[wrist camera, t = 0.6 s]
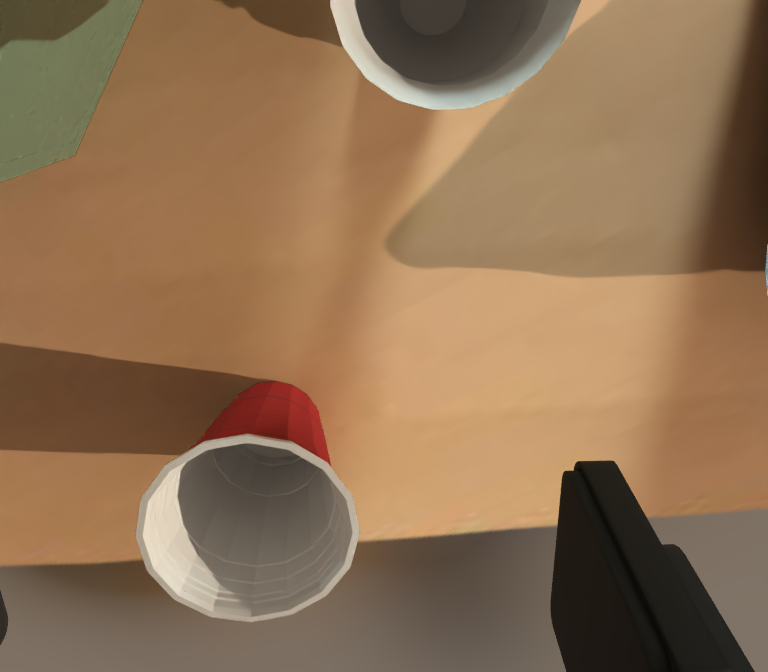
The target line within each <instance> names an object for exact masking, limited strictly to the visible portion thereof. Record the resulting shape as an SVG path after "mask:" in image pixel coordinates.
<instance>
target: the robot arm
mask: <svg viewBox="0 0 768 672" xmlns="http://www.w3.org/2000/svg"><path fill="white" fill-rule="evenodd" d="M555 550H556V551H555V560H554V571H553V582H552V593H551V618H552V624H553V628H554V632H555V635H556V638H557V642H558V645H559V648H560V652H561V655H562V658H563V662H564V665H565V668H566V672H755V671H754V670H753V668H752V667H751V665H750V663H749V662H748V660H747V658H746V656H745V655H744V653H743V651H742V650H741V648H740V646H739V645H738V643H737V641H736V640H735V638H734V636H733V635H732V633H731V631H730V629H729V628H728V626H727V624H726V623H725V621H724V619H723V618H722V616H721V614H720V613H719V611H718V609H717V608H716V606H715V604H714V603H713V601H712V599H711V598H710V596H709V594H708V593H707V591H706V589H705V588H704V586H703V584H702V582H701V581H700V579H699V577H698V576H697V574H696V573H695V571H694V569H693V567H692V566H691V564H690V562H689V561H688V559H687V557H686V556H685V554H684V553H683V552H682V550H681V549H680V548H679V547H678V546H676V545H674V544H668V545H662V544H661V542H660V541H659V539H658V537H657V535H656V534H655V532H654V530H653V528H652V526H651V525H650V523H649V521H648V519H647V518H646V516H645V514H644V512H643V510H642V509H641V507H640V505H639V503H638V501H637V500H636V498H635V496H634V494H633V493H632V491H631V489H630V487H629V485H628V484H627V482H626V480H625V478H624V477H623V475H622V473H621V471H620V469H619V468H618V466H617V464H616V463H615V462H614V461H578V462H577V463H576V464H575V467H574V471H565V472H564V473H563V476H562V485H561V495H560V506H559V517H558V528H557V540H556V549H555ZM7 626H8V616H7V612H6V608H5V605H4V601H3V599H2V595H1V591H0V645H1V643H2V641H3V639H4V637H5V635H6V631H7Z"/></svg>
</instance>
